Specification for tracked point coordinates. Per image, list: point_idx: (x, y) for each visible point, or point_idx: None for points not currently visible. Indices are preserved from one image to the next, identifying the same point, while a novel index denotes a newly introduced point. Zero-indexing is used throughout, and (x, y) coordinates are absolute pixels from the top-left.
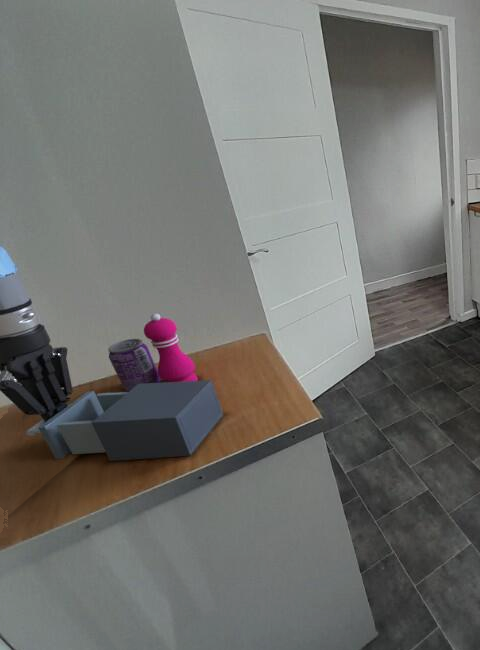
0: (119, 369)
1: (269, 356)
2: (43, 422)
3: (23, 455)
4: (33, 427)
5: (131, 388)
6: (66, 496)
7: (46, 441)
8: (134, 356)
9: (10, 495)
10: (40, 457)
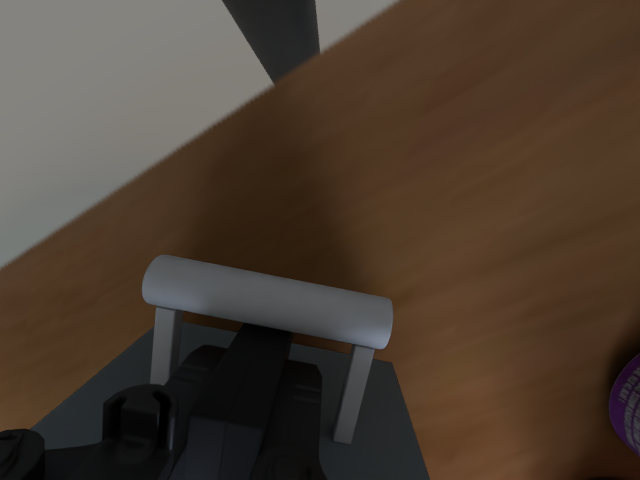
0: None
1: None
2: (227, 316)
3: (252, 153)
4: (168, 297)
5: (635, 402)
6: (15, 409)
7: (88, 382)
8: None
9: (34, 250)
10: (222, 228)
